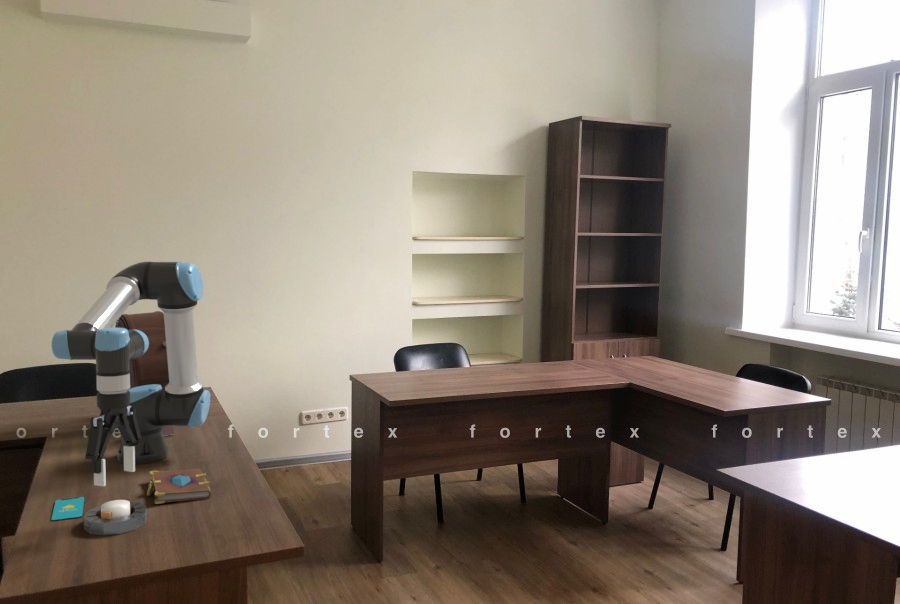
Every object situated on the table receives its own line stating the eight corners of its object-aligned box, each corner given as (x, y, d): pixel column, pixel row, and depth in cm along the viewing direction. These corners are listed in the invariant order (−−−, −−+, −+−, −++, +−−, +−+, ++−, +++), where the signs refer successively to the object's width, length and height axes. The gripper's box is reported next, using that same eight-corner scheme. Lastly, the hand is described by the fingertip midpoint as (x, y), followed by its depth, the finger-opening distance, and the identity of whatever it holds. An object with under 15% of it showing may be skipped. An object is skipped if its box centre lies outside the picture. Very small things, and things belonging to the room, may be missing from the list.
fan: (186, 437, 258) (185, 316, 254) (132, 444, 248) (130, 318, 244) (161, 412, 292) (159, 305, 288) (112, 418, 282) (110, 307, 278)
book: (200, 475, 222) (201, 459, 222) (211, 503, 200) (212, 485, 200) (142, 479, 215) (143, 463, 215) (148, 508, 193) (149, 490, 193)
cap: (114, 516, 186) (114, 497, 185) (137, 519, 185) (137, 500, 184) (93, 528, 178) (93, 509, 178) (117, 531, 177) (117, 511, 176)
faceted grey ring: (110, 510, 190) (110, 499, 189) (157, 516, 187) (157, 504, 187) (71, 531, 176) (71, 519, 176) (122, 537, 173) (122, 525, 173)
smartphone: (50, 520, 182) (55, 499, 195) (50, 523, 182) (55, 502, 195) (82, 516, 185) (85, 496, 198) (83, 519, 185) (85, 499, 198)
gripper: (129, 380, 190) (131, 462, 192) (66, 399, 168) (68, 492, 170) (155, 382, 189) (156, 465, 191) (94, 402, 166) (96, 495, 168)
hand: (115, 477), depth 180 cm, fingers open, 10 cm apart
